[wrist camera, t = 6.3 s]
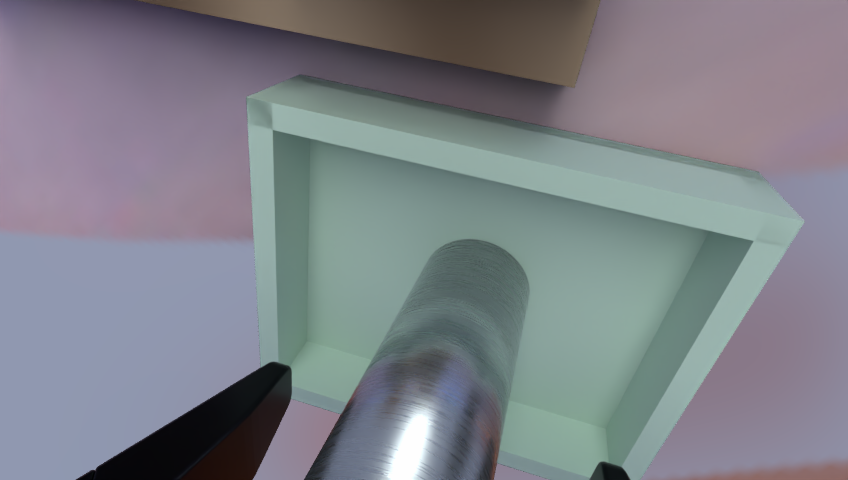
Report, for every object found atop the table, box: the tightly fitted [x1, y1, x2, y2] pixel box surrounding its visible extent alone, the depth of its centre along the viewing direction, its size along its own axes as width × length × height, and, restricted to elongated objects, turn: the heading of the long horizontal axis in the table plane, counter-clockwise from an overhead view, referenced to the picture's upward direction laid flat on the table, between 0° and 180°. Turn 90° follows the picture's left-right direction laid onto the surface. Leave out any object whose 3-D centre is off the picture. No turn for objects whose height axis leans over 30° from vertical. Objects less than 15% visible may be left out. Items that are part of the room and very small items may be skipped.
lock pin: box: [304, 239, 530, 480], centre depth 10 cm, size 4×4×9 cm
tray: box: [246, 75, 804, 480], centre depth 13 cm, size 11×9×2 cm
